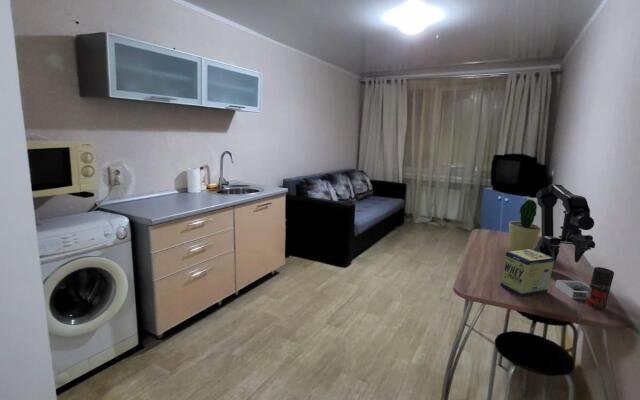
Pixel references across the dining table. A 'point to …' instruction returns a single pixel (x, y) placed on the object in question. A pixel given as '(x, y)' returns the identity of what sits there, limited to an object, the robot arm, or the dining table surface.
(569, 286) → the collar
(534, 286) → the protein box
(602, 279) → the deodorant
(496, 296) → the dining table surface
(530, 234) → the potted cactus
